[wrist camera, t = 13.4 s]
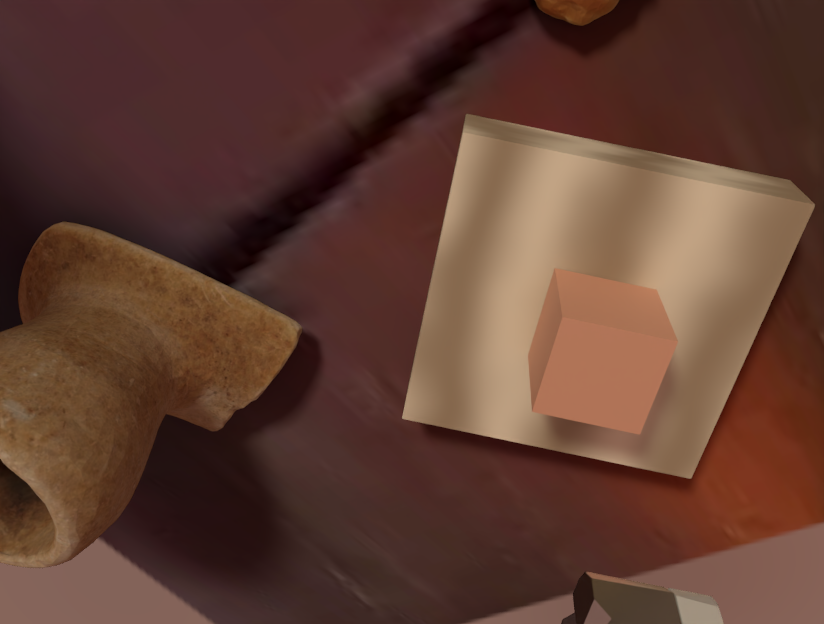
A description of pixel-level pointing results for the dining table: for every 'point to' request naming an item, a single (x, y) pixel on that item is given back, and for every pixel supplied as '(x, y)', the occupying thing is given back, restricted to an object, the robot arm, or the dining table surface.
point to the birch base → (601, 257)
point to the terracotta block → (599, 351)
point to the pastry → (576, 9)
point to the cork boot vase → (113, 380)
